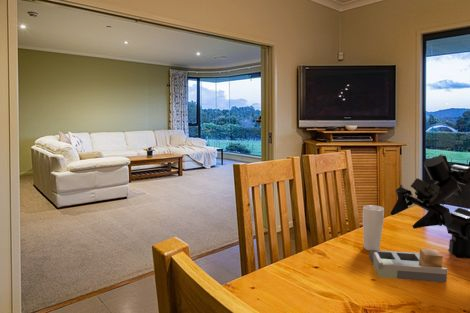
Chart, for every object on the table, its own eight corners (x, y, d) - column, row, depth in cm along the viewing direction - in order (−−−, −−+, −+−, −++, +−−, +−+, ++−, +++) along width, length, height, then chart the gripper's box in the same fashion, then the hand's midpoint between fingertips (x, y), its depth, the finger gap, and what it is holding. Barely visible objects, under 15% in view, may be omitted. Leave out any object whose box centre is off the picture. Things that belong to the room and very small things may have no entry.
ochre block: (435, 264, 101) (436, 249, 100) (441, 271, 96) (442, 256, 96) (419, 263, 101) (420, 248, 101) (424, 269, 97) (425, 255, 97)
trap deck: (428, 261, 108) (428, 247, 108) (446, 282, 95) (447, 267, 94) (369, 256, 112) (369, 244, 111) (378, 277, 98) (379, 262, 98)
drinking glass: (359, 250, 117) (361, 208, 115) (362, 243, 123) (364, 204, 121) (381, 254, 114) (383, 211, 112) (382, 247, 120) (384, 206, 118)
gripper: (409, 164, 113) (373, 190, 111) (460, 183, 96) (418, 215, 94) (418, 188, 117) (383, 214, 116) (468, 211, 100) (428, 242, 99)
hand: (401, 220), depth 106 cm, fingers open, 9 cm apart
